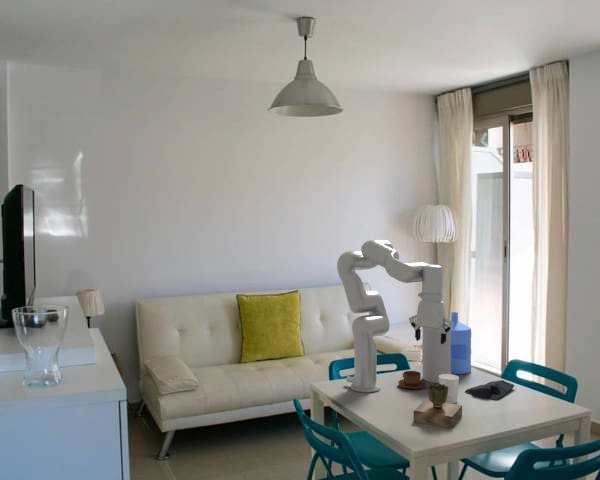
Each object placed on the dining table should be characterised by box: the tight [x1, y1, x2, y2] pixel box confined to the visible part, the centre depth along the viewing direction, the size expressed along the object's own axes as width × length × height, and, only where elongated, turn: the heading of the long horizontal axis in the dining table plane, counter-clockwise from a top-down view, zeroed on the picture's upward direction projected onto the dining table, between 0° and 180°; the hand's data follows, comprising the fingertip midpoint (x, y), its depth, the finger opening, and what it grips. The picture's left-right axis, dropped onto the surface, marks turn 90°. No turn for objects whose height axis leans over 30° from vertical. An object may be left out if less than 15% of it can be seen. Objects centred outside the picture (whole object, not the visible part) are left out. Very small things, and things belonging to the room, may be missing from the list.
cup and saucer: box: [397, 370, 427, 390], centre depth 252 cm, size 12×12×6 cm
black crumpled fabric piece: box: [464, 379, 515, 401], centre depth 244 cm, size 15×22×5 cm
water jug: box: [445, 311, 472, 375], centre depth 278 cm, size 16×16×28 cm
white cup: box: [438, 374, 460, 404], centre depth 231 cm, size 8×8×10 cm
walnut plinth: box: [413, 399, 463, 429], centre depth 211 cm, size 14×14×4 cm
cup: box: [427, 383, 448, 409], centre depth 211 cm, size 8×7×8 cm
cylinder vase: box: [421, 324, 451, 384], centre depth 262 cm, size 12×12×25 cm
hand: (430, 341), depth 221 cm, fingers open, 9 cm apart
